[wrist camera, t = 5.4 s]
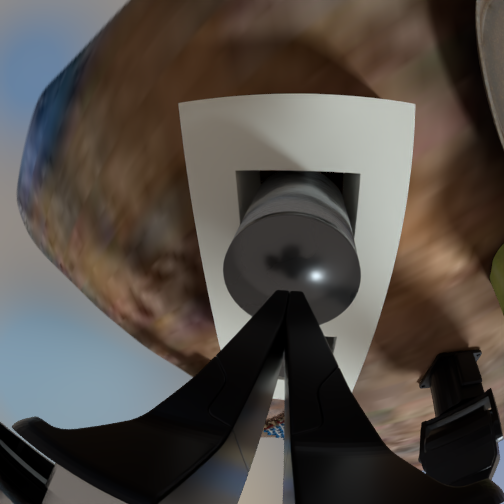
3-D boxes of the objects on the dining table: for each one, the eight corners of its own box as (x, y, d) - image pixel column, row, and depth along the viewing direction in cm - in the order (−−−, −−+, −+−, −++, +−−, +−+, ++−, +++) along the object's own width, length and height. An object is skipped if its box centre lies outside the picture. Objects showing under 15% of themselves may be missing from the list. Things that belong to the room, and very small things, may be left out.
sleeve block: (346, 349, 25) (347, 402, 20) (245, 342, 27) (231, 393, 22) (381, 98, 14) (415, 104, 9) (218, 97, 16) (178, 103, 11)
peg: (341, 254, 15) (349, 331, 10) (255, 251, 16) (230, 323, 11) (348, 169, 13) (370, 220, 8) (249, 167, 13) (214, 214, 9)
